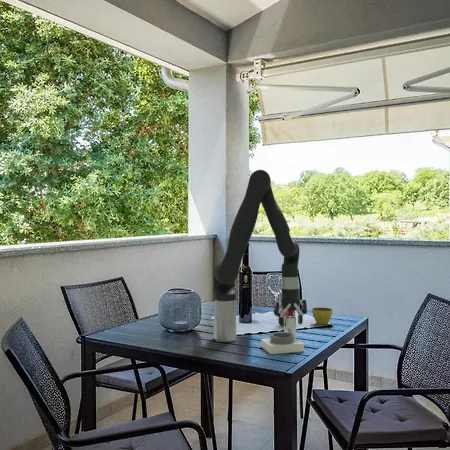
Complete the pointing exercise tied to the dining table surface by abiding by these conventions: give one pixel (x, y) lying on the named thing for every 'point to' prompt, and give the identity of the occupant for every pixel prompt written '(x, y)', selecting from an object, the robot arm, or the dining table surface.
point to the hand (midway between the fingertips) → (290, 324)
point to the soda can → (288, 313)
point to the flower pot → (322, 315)
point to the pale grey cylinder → (290, 325)
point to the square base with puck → (282, 343)
